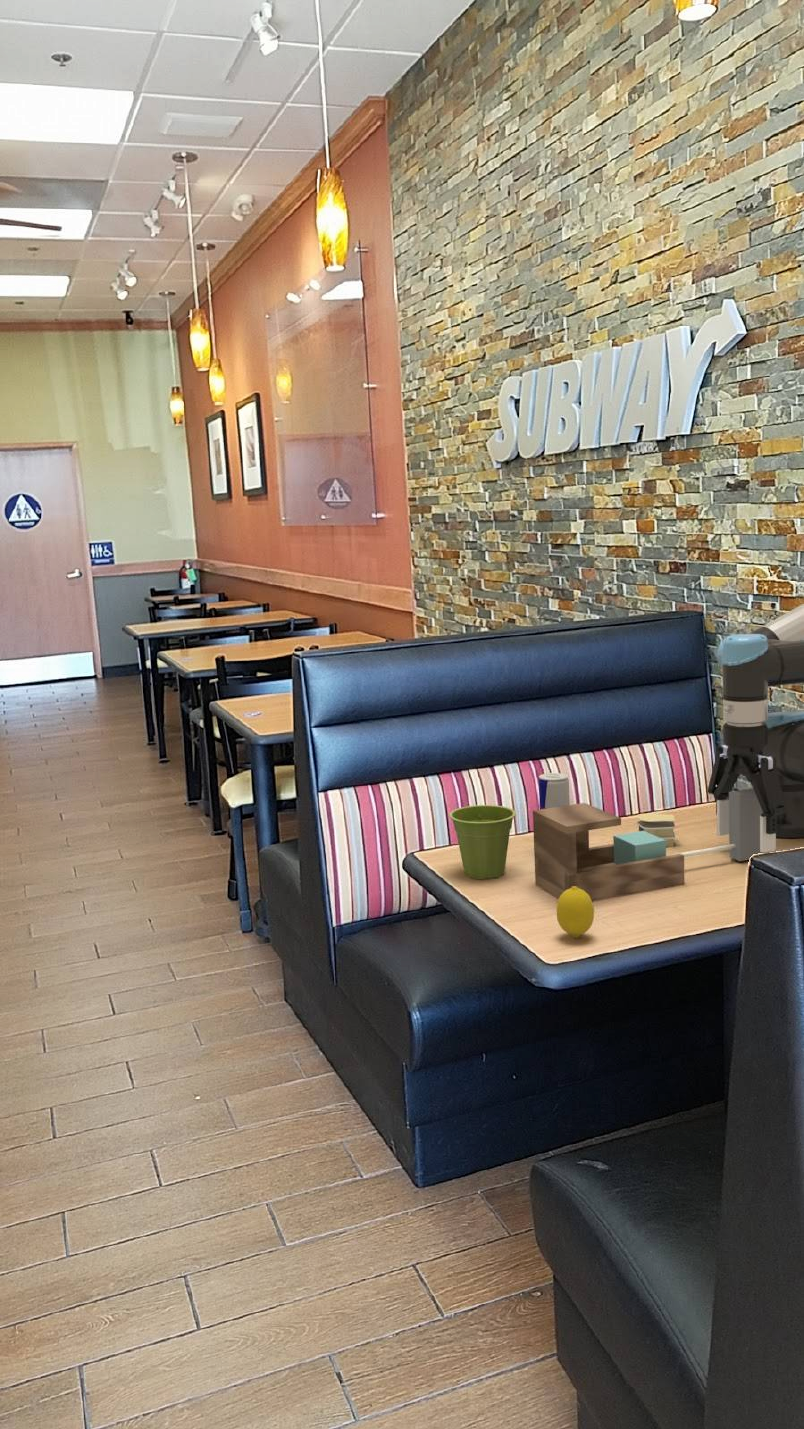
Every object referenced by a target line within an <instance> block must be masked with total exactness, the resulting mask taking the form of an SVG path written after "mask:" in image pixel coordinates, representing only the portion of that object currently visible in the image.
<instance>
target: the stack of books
mask: <svg viewBox="0 0 804 1429" xmlns="http://www.w3.org/2000/svg"><path fill="white" fill-rule="evenodd" d="M636 817H637V818H639V819H640V820H638V821H636V824H637V826H638V831H645V832H647V833H650V834H652V835H655V836H657V837H659V838H662V839H664V840H666V848H667V847H674V839H676V834H675V832H674V829H676V825H675V822H674V821H676V819H675V815H674V814H664V813H663V814H660V813H640V814H637V815H636Z"/></svg>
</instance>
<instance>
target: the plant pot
mask: <svg viewBox="0 0 804 1429" xmlns="http://www.w3.org/2000/svg"><path fill="white" fill-rule="evenodd" d="M516 815H517V813H516V810H514V809H512V808H511V807H507V806H503V805H495V804H494V805H493V804H478V805H477V804H476V805H468V806H467V805H466V806H464V807H459V808H456V809H453V810H452V811H450V812H449V814H448V817H449V818H450V819H451V820H452V823H453V828H454V831H455V833H456V838H457V842H458V846H459V847H458V848H459V852H460V857H461V862H462V863H461V864H462V868H463V873H464V874H465V875H466V876H467V877H469V878H471V879H478V880H487V879H488V878H494V879H496V878H499V877H502V876H503V875H504V873H505V871H506V863H507V854H508V847H509V840H510V835H511V834H510V832H511V829H512V826H513V820H514V818H515V817H516Z"/></svg>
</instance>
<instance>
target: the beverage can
mask: <svg viewBox="0 0 804 1429" xmlns="http://www.w3.org/2000/svg"><path fill="white" fill-rule="evenodd" d="M538 798H539V799H538V802H539V810H540V809H547V808H553V807H560V806H567V805H571V803H570V801H571V800H570V780H569V775H568V774H566V773H560V772H548V773H543V774H540V775H539V776H538Z"/></svg>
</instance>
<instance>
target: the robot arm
mask: <svg viewBox="0 0 804 1429" xmlns="http://www.w3.org/2000/svg"><path fill="white" fill-rule="evenodd" d="M716 660H717V663H718V665H719V667H720V668H721V669H722V717H723V718H722V720H723V721H724V722H725V723H724V724H723V725H722V742H723V744H724V745H717V746H715V759H714V764H713V767H712V771H711V774H710V779H709V782H708V783H709V784H708V786H707V793H708V794H709V795H713V798H714V800H715V813H716V814H715V815H716V836H726V835H729V792H732V791H733V788H735V784H736V783H737V780H739V777H740V775H741V776H744V777H745V778H746V780H747V781H748V782H750V784H751V787H752V788H753V789H754V791H755V794H756V796H757V799H758V801H759V804H760V806H761V808H762V811H763V813H762V814H761V815H760V852H763V853H767V852H773V851H776V850H777V847H776V846H777V845H776V844H777V838H785V839H786V838H787V839H788V838H789V839H792V838H793V839H795V838H796V839H798V838H804V710H788V711H785V710H784V711H777V712H775V711H774V712H769V707H768V703H769V702H768V692H769V687H777V686H787V685H797V684H804V603H803V604H801V605H799V606H797V607H795V608H794V609H791V610H790V611H788V612H786V613H784V614H783V615H780V616H779V617H776V618H775V619H773V620H771V621H770V622H768V623H766V624H764V625H762V626H760V627H758V628H757V629H754V630H753V631H751V632H749V633H741V634H740V633H738V634H731V635H728V636H726V637H725V638H724V639H722V641H721V642H720V643H719V645H718V646H717V652H716Z"/></svg>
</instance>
